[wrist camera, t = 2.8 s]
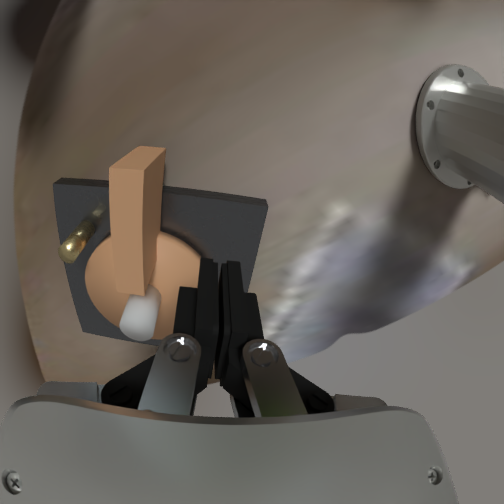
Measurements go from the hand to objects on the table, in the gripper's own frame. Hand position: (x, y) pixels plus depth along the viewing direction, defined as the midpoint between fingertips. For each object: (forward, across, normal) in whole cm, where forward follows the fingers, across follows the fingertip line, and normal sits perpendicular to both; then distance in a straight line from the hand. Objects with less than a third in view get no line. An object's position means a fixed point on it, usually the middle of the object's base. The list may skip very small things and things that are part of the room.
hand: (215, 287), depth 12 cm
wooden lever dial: (+10, +5, +6) cm, 13 cm away
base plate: (+12, +5, +9) cm, 16 cm away
